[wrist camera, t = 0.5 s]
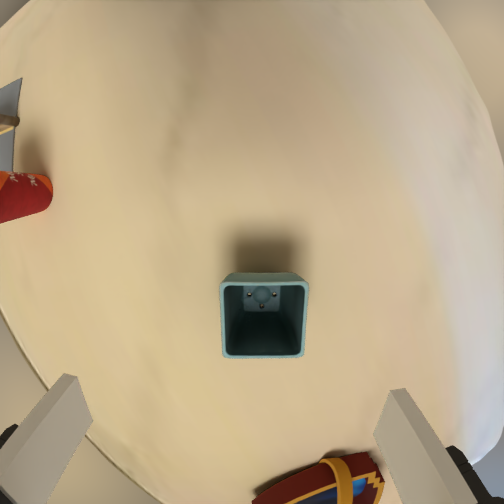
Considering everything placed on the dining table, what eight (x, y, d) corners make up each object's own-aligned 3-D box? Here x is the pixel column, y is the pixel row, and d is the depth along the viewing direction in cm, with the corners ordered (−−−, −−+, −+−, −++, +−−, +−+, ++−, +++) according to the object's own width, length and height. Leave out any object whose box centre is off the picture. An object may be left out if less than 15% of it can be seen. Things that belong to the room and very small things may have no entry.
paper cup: (56, 163, 34) (-10, 159, 20) (60, 214, 35) (-6, 229, 22) (23, 173, 34) (-40, 175, 20) (26, 221, 36) (-36, 236, 22)
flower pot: (226, 260, 37) (218, 282, 28) (296, 259, 37) (309, 281, 28) (228, 323, 39) (222, 359, 30) (293, 322, 39) (304, 357, 30)
